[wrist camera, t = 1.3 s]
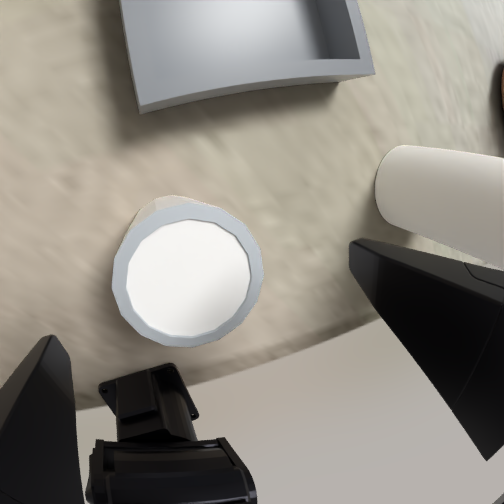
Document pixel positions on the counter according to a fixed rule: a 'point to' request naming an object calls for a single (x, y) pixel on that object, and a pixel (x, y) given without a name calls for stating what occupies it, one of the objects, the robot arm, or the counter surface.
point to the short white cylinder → (186, 272)
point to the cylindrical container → (445, 198)
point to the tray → (239, 46)
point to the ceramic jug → (502, 89)
